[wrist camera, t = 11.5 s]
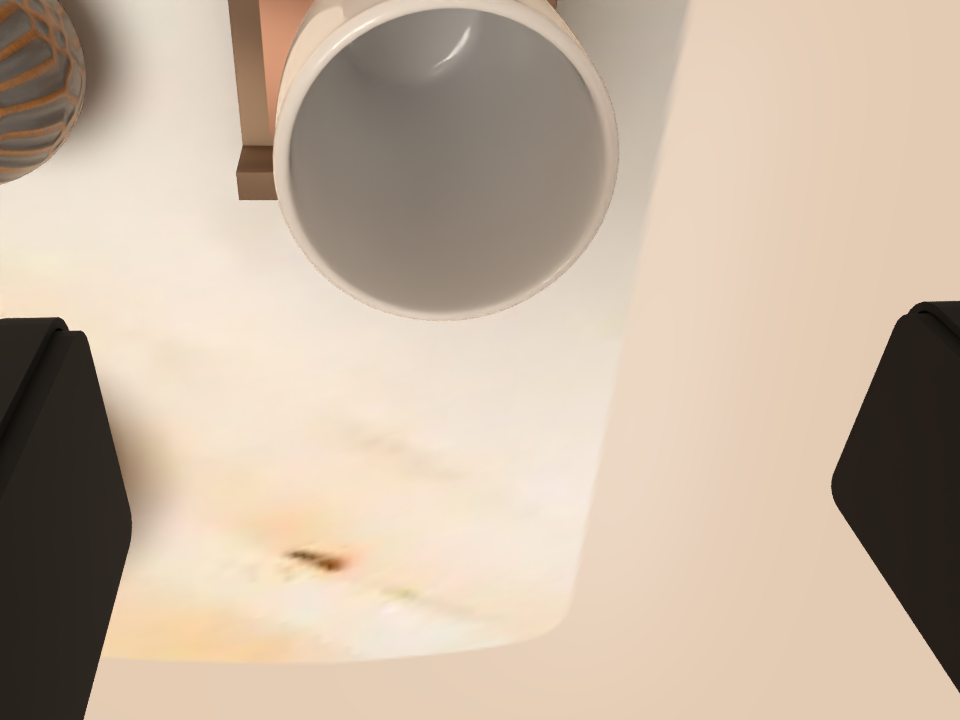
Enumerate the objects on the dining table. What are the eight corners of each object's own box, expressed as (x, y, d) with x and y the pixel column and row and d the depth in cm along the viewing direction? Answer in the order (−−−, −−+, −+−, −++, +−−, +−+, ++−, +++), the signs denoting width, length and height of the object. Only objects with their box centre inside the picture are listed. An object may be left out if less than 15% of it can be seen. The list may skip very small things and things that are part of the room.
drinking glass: (305, -135, 26) (271, -43, 13) (522, -98, 27) (668, 16, 15) (297, 87, 29) (263, 316, 17) (487, 110, 31) (581, 338, 18)
